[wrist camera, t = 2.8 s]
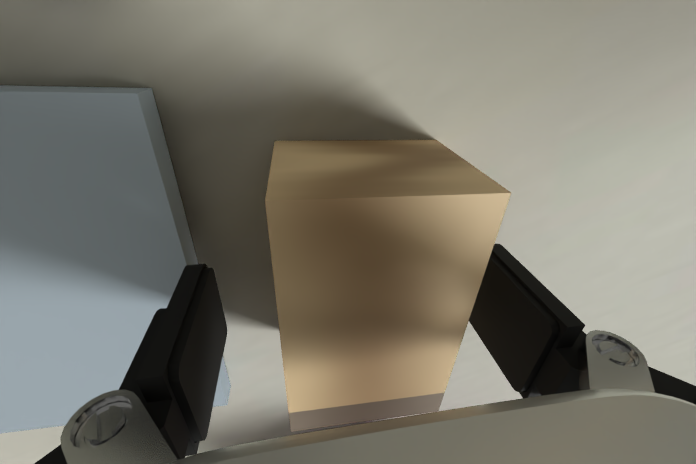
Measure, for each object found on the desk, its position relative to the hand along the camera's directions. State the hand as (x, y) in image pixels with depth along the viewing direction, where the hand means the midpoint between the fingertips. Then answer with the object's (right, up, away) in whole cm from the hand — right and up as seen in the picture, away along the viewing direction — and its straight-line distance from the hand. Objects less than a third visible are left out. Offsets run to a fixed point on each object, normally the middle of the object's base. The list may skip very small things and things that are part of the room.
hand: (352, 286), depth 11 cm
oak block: (0, +1, +2) cm, 2 cm away
